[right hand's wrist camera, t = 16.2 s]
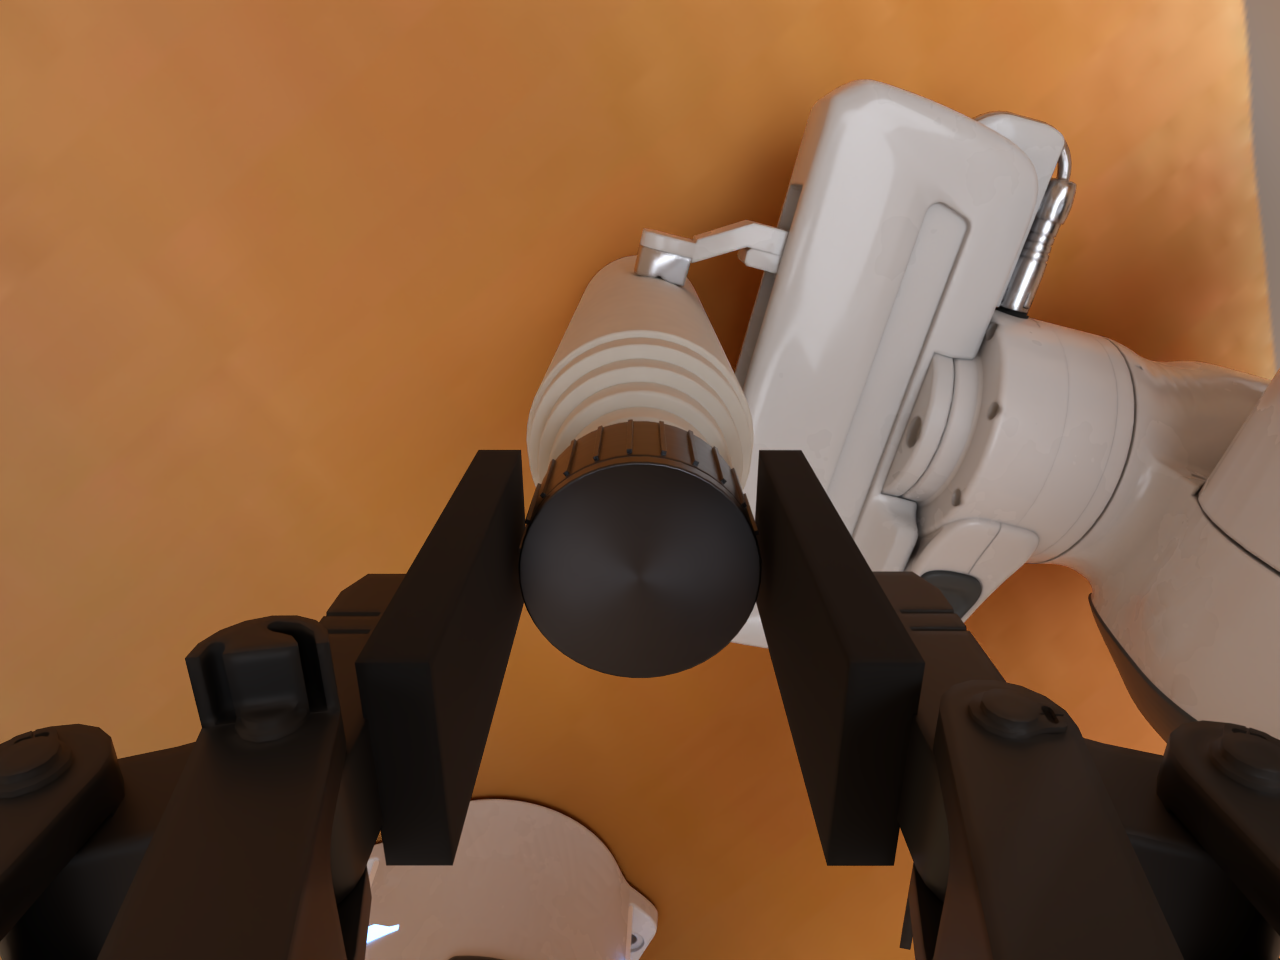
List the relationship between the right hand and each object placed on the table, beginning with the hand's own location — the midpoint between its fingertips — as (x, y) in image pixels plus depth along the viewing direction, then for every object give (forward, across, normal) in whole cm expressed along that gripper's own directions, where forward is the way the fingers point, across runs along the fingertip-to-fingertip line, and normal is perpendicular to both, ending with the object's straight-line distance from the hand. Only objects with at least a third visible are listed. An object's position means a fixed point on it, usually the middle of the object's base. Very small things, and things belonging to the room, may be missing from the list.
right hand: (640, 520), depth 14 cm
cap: (-2, 0, 0) cm, 2 cm away
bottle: (+22, 0, 0) cm, 22 cm away
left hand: (+15, -1, 0) cm, 15 cm away
